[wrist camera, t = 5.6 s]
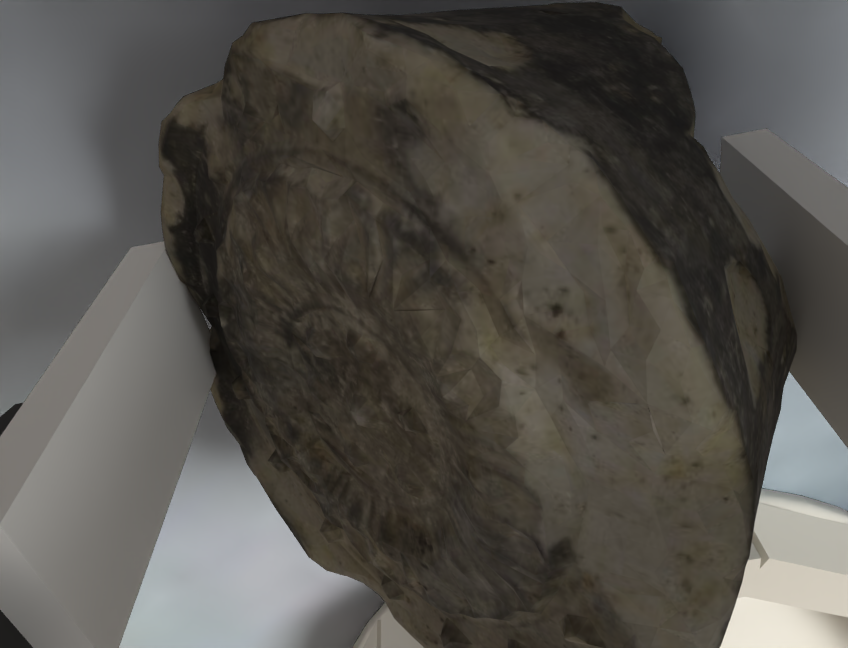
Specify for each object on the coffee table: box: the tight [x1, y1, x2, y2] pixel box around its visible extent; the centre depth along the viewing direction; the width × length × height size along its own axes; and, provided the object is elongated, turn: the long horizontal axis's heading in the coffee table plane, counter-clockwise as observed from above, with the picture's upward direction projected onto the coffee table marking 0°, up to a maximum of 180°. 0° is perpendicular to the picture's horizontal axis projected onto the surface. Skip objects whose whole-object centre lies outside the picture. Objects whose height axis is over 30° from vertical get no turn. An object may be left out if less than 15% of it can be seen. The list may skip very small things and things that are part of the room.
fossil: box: [159, 2, 797, 648], centre depth 11 cm, size 11×9×10 cm
